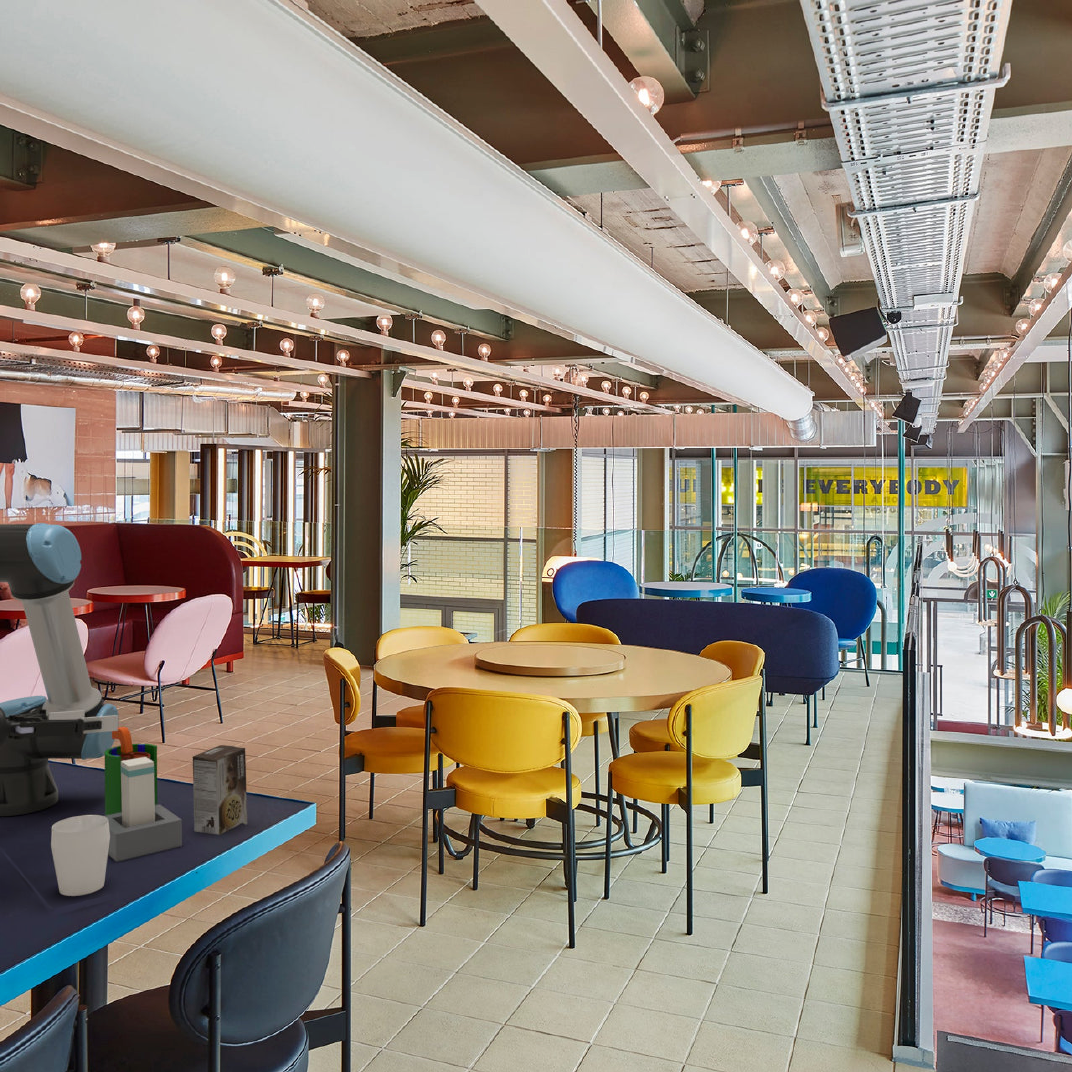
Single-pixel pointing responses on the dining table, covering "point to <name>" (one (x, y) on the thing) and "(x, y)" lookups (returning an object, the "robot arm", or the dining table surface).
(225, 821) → the coffee box
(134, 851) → the socket
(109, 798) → the motor
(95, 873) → the cup
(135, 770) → the plug
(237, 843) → the dining table surface
